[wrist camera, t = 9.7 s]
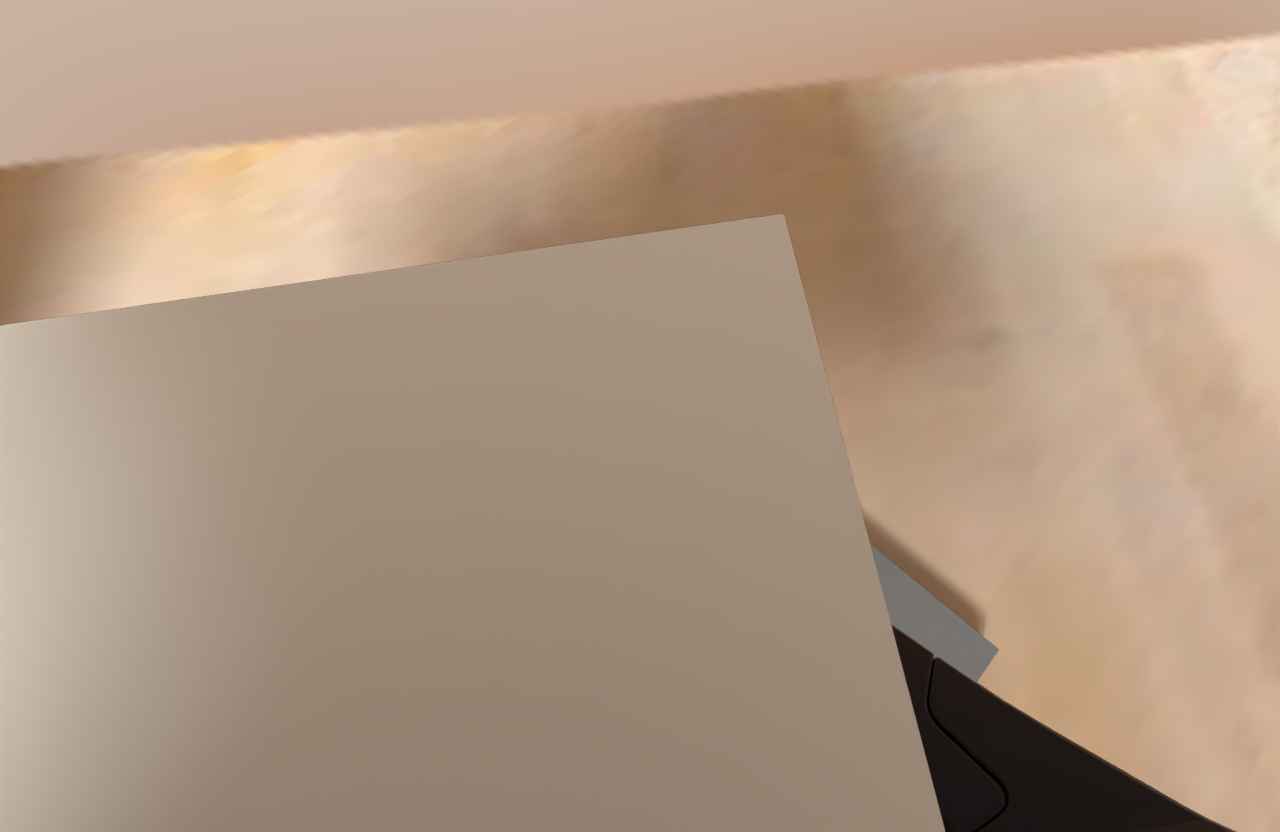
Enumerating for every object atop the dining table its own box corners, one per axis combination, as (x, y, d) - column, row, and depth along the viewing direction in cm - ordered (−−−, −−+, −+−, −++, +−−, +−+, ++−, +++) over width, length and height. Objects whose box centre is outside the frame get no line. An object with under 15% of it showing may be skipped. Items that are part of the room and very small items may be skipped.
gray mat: (983, 649, 17) (998, 649, 16) (622, 1169, 13) (620, 1201, 12) (603, 334, 20) (601, 322, 19) (241, 682, 17) (221, 683, 16)
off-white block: (737, 773, 14) (1141, 1584, 2) (516, 805, 14) (-530, 1817, 2) (700, 550, 16) (783, 214, 4) (504, 578, 16) (-66, 335, 4)
